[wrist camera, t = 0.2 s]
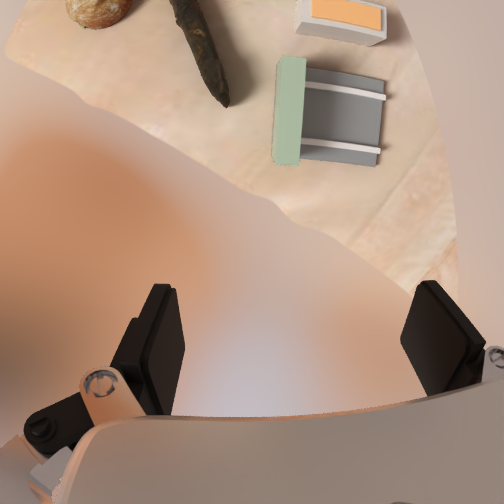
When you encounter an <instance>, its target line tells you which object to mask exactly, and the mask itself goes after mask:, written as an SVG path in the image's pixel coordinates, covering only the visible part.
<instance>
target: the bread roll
mask: <svg viewBox="0 0 504 504" xmlns="http://www.w3.org/2000/svg"><path fill="white" fill-rule="evenodd" d="M131 1H132V0H66V9H67V12H68V14H69V17H70V19H73V20H74V21H76V22H78V23H79V25H80V27H81V28H84V29H85V28H90V29H94V30H96V29H103V28H107V27H109V26H111V25H113V24H114V23H116V22H117V21H118V20H119V19H121V18H122V17H123V16H124V15H125V14H126V12H127V11H128V9H129V7H130V5H131Z"/></svg>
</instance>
